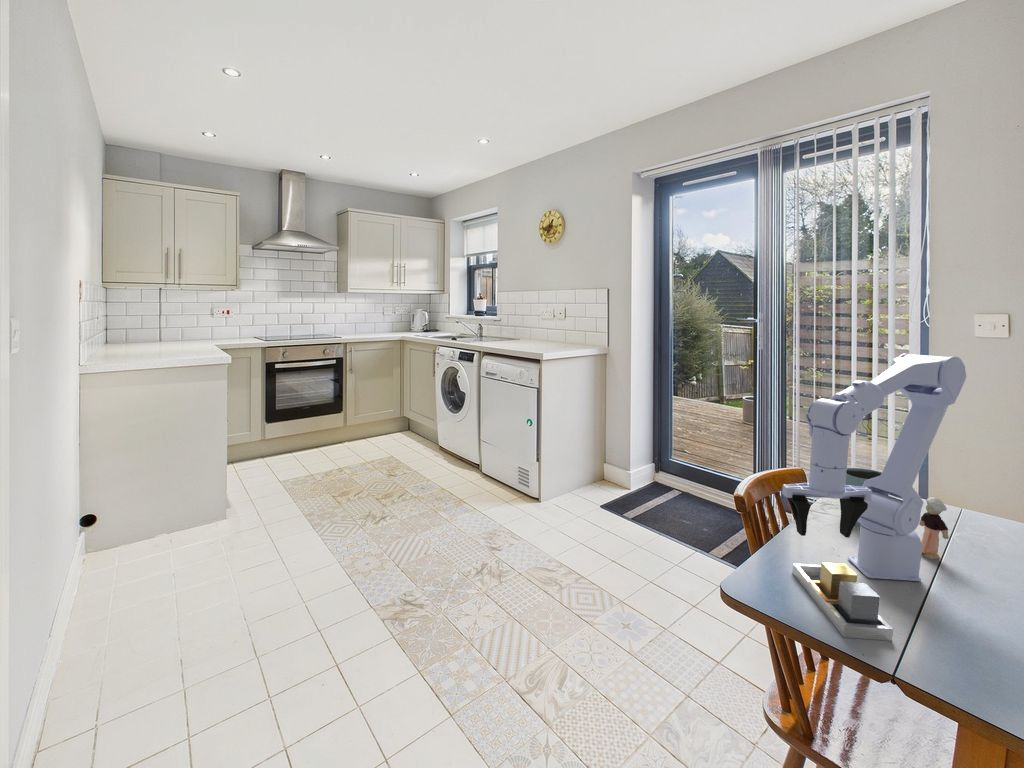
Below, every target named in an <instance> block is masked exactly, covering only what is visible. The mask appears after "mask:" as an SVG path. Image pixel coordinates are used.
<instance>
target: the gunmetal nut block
mask: <svg viewBox="0 0 1024 768" xmlns="http://www.w3.org/2000/svg"><path fill="white" fill-rule="evenodd" d="M880 599H881V597H880V595H878V593H877V592H875V591H874V590H873V589H872V588H871V587H870V586H869V585H868V584H867V583H863V582H857V583H852V582H840V586H839V597H838V608H837V611H838V613H839V614H840V615H841V616H842V617H843V619H844V620H845V621H846V622H847V623H854V624H866V625H877V620H878V614H879V607H880Z"/></svg>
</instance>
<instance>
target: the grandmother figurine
mask: <svg viewBox="0 0 1024 768" xmlns="http://www.w3.org/2000/svg"><path fill="white" fill-rule="evenodd" d="M925 510H926V511H927V512H924V513H923V514H922V516H920V522H919V525H920V526H921V527H924V528H923V529H924V531H923V534H922V539H921V540H920V541H921V545H922V553H921V554H923V557H924V558H926V559H929V560H930V559H931V560H939V559H940V558H941V557H940V555H939V554H938V553H939V547H940V532H941V535H942V536H941V537H942V538H943V539H944V540H948V539H949V538H950V536H949V527H948V526H947V524H946V523H945V521H944V520H943V519H942V517H941V515H940V514H941V513H943V512H946V511H947V510H948V509H947V507H946V505H945V503H944V502H943V501H942V500H941V499H939V498H937V497H932V496H931V497H928V498H927V499H926V507H925Z"/></svg>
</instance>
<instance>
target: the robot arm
mask: <svg viewBox="0 0 1024 768" xmlns="http://www.w3.org/2000/svg"><path fill="white" fill-rule="evenodd" d="M966 379H967V371H966V366H965V363H964V362H963V360H962V359H961V358H960V357H959V356H952V355H951V356H943V355H942V356H939V355H925V354H911V353H907V352H905V353H901V354H900V355H898V356H897V357H895V358H893V359H892V361H891V364H890V367H889V368H887V369H886V370H885V371H883V372H882V373H880V374H879V375H877V376H876V377H875V378H873V379H872V380H870V381H868V380H859V379H856V380H854V381H853V382H851V385H849V386H848V387H847V388H845V389H843V390H841V391H840V392H836V393H834V395H833V396H831V397H829V398H823V397H822V398H818V399H817V400H815V401H813V402H812V403H811V404H810V405H809V407H808V409H807V412H806V413H805V414H804V415H805V417H804V418H805V421H806V424H807V425H808V427H809V429H808V430H809V431H808V432H809V433H808V434H809V435H810V436H809V437H811V446H810V448H811V449H810V458H809V459H810V460H809V461H810V462H809V476H808V482H802V483H801V482H799V483H789V484H784V483H783V484H782V493H781V494H782V495H783V496H784V497H785V498H786V499H787V502H788V503H789V506H790V509H791V512H792V513H793V517H794V520H795V521H794V522H795V527H796V533H798V534H799V535H800V536H804V537H805V536H806V534H807V527H808V526H807V525H808V516H809V512H810V510H811V507H812V505H811V504H810V503H809V502H808V499H807V498H824V499H825V498H826V499H829V498H830V499H838V500H839V504H840V505H839V506H840V520H839V533H840V534H841V535H842V536H843V537H844V538H846V539H847V538H850V536H851V534H852V532H853V529H855V528H854V527H855V526H856V525H855V524H856V522H859V523H861V526H860V527H859V528H860V530H859V540H858V550H857V556H847V559H848V561H849V562H850V563H852V564H853V566H855V567H856V568H857V569H858V570H859V571H860V572H862V574H864V576H865V577H867V578H869V579H880V580H881V579H882V580H893V581H895V580H896V581H911V582H912V581H913V582H922V578H921V577H920V570H921V563H922V562H921V560H922V554H923V553H922V545H921V541H922V540H921V537H920V536H919V535H918V533H917V532H916V531H915V530H916V529H917V528H918V526H919V525H920V524H919V522H920V520H921V512H922V508H923V506H924V500H923V499H922V497H921V496H920V495H919V493H918V492H917V491H916V490H915V489H914V487H913V486H914V484H915V481H916V479H917V477H918V475H919V472H920V470H921V468H922V466H923V463H924V461H925V460H926V457H927V455H928V453H929V450H930V448H931V446H932V444H933V442H934V439H935V437H936V435H937V432H938V430H939V428H940V426H941V424H942V422H943V418H944V416H945V414H946V412H947V410H948V409H949V408H948V407H949V406H951V405H953V404H955V403H956V401H957V399H958V397H959V395H960V393H961V390H962V388H963V386H964V383H966ZM897 391H900V392H901V394H902V396H903V397H904V398H906V399H908V400H910V403H911V407H910V410H909V411H908V414H907V416H906V418H905V420H904V423H903V425H902V427H901V429H900V432H899V434H898V435H897V438H896V441H895V443H894V445H893V447H892V450H891V452H890V454H889V456H888V458H887V460H886V463H885V465H884V467H883V470H882V471H881V472H882V474H881V475H880V476H878V477H875V478H871V479H868V480H866V481H864V483H863V486H862V487H860V486H850V485H845V484H846V472H847V468H848V461H849V460H848V459H849V457H848V456H849V449H850V447H849V446H850V445H849V444H850V436H851V434H852V433H854V432H855V431H856V430H857V428H859V427H858V426H859V424H860V423H861V422H862V421H863V419H864V417H866V416H868V414H870V413H872V412H874V411H875V410H877V409H879V408H880V407H882V406H883V404H884V402H885V397H887V396H889V395H892V394H893V393H895V392H897ZM885 494H888V495H889V496H888V495H885Z"/></svg>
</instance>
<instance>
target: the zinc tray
mask: <svg viewBox="0 0 1024 768" xmlns="http://www.w3.org/2000/svg"><path fill="white" fill-rule="evenodd" d="M791 573H792V575H793V576H794V577H795V578H796V579H797V581H798V582H799V583H800V584H801V585H802V587H803V589H805V591H806V592H807V593H808V595H810V597H811V598H812V599H813V601H814V602H815V603H816V604H817V606H818V607H819V608H820V609H821V611H822V612H823V613H824V615H825V616H826V618H828V619H829V621H830V622H831V623H832V625H833V626H834V627H835V629H836V630H837V631H838V632H839V633H840V634H841V636H842V637H843V638H849V639H850V638H851V639H861V640H864V639H865V640H874V641H875V640H876V641H886V642H888V641H889V642H893V636H894V635H893V634H894V629H893V628H892V626H891V625H889V623H888V622H887V621H886V620H885V619H884V618H883V617H882V616H881V615H880V614H879V613H878V620H877V625H866V624H854V623H847V622H846V621H845V620H844V619H843V617H842V616H841V615H840V614H839V613H838V611H837V608H838V600H835V599H828V598H827V597H826V596H825V595H824V594H823V593H822V591H821V590H820V589H819V585H820V580H813V579H811V578H810V577H820V573H821V564H810V563H809V564H806V563H795V562H794V563H792V572H791Z"/></svg>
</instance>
